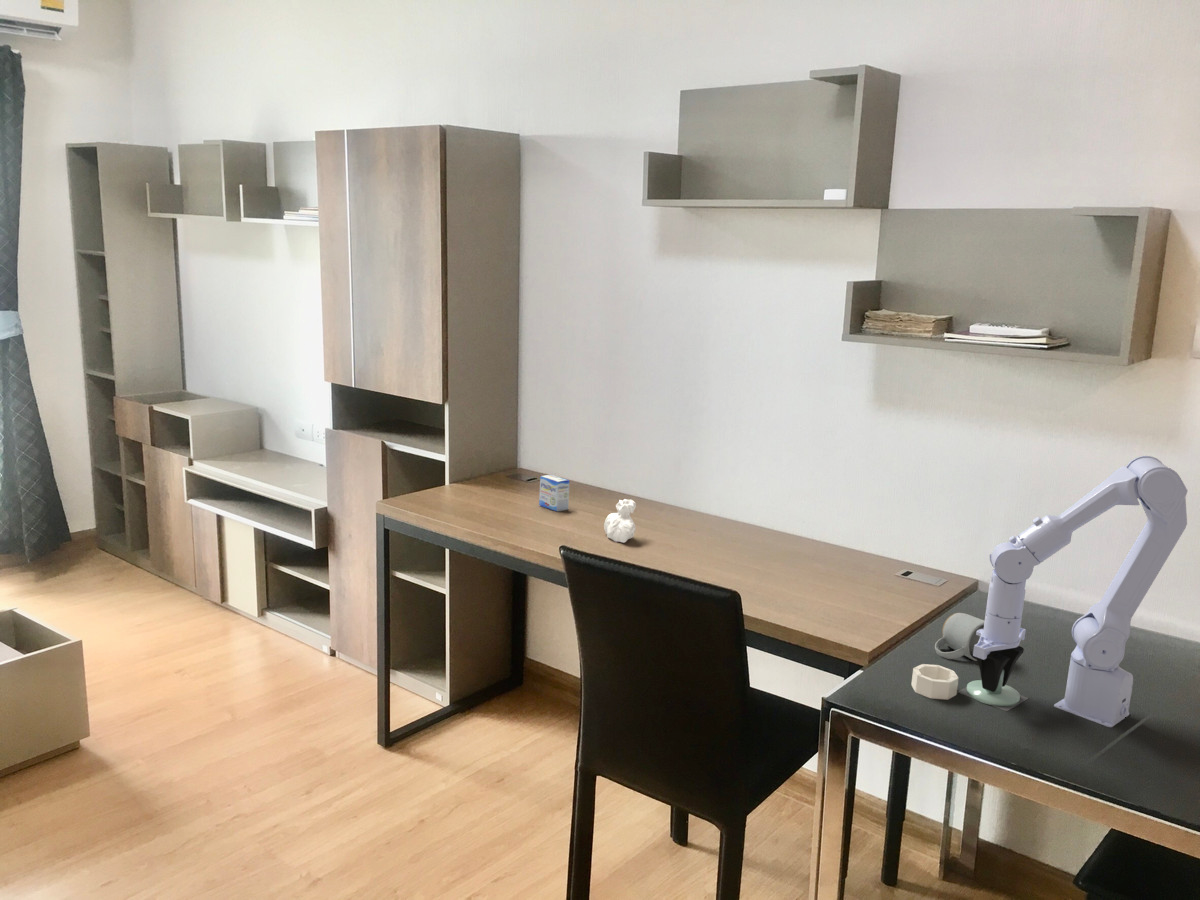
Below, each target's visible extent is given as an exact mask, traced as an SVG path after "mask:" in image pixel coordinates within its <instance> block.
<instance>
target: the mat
mask: <svg viewBox="0 0 1200 900" xmlns="http://www.w3.org/2000/svg"><path fill="white" fill-rule="evenodd" d="M966 690H967V686H965V687H963V688H961V689H959V690H957V694H960V695H962V696H963V695H964V696H965V697H968V698H971V699H973V698H972V697H971V696H969V695H968V693H967V691H966ZM1027 700H1029V697H1026V696H1024V695H1021V694H1020V700H1019V703H1018V704H1016V705H1013V706H1006V707H1003V706H994V705H989V704H987V705H988V706H991V707H994V708H996V709H998V710H1001V711H1004V712H1008V711H1011V709H1014V708H1016V707H1017V706H1018V705H1020V704H1022V703H1024V702H1025V701H1027Z"/></svg>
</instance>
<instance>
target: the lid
mask: <svg viewBox="0 0 1200 900" xmlns="http://www.w3.org/2000/svg"><path fill="white" fill-rule="evenodd" d="M1003 677H1004V669H1003V670H1002V673H1001V676H1000V680H999V684H998V687H997V689H996V691H995V692H991V691H989V690H986V689H984V688H983V687H982V680H981V679H979V680H978V679H977V680H972V681H970V682H968V683H967V684H966V687H967V690H966V691H967V693H968V695H969V696H971V697H972V698H971V699H972V700H975V701H977V702H980V703H982V704H986V705H988V704H989V705H988V706H991V705H994V706H1003V707H1006V706H1013V705H1016V704H1018V703H1019V700H1020V695H1021V694H1020V693H1019V692H1018V690H1016V689H1015V688H1013V686H1010V685H1007V684H1006V685H1005V686H1004V687H1002V684H1003Z"/></svg>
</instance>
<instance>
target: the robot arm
mask: <svg viewBox="0 0 1200 900" xmlns="http://www.w3.org/2000/svg"><path fill="white" fill-rule="evenodd" d="M1187 494H1188V489H1187V487H1186V484H1184V481H1183V480H1182V478H1181V475H1179V473H1178V472H1176V471H1175V470H1174V469H1172V468H1170V467H1168V466H1166V465H1165V464H1164V463H1163V462H1162V461H1161V460H1160V459H1158V458H1156V457H1154V456H1151V455H1141V456H1140V455H1139V456H1138V457H1135V458H1133V459H1131V460H1130V461H1129V462H1128V463H1127V465H1122V466H1121V467H1119V468H1116V469H1115V470H1114V471H1113V472H1112V473H1111V474H1110V475H1109V476H1108V477H1107V478H1105V479H1104V480H1102V482H1101V483H1099V484H1098V485H1096V486H1095V487H1094V488H1093V489H1091V490H1090V491H1089V492H1088V493H1087V494H1085V495H1084V496H1082V497H1081V498H1080V499H1079V500H1077V501H1076V502H1075V503H1073V504H1072V505H1071V506H1070V507H1068V508H1067V509H1066V510H1065V511H1063V512H1061V513H1060V514H1059V515H1058V514H1057V515H1051V514H1045V516H1042V518H1041V517H1040V516H1037V517H1035V518H1034V519H1032V523H1033V524H1032V525H1030V526H1028V527H1027V528H1026V529H1024V530H1023V531H1022V532H1020V533H1018V535H1016V536H1015V535H1011V536H1010V537H1009V538H1008V540H1009V541H1007V542H1006V541H1003V542H1001V543H999V544H997V545H996V546H995V547H994V548H993V550H992V552H991V553H990V554H989V561H990V563H991V566H992V567H993V569H992V571H991V575H990V582H989V586H988V593H987V594H988V595H987V598H986V599H987V600H986V601H987V602H986V609H985V617H984V621H985V622H984V629H980V630H977V633H976V634H977V635H978V636H980V639H979V641H978V643H977V644H976V645H974V651H973V654H972V657H974V658H975V659H977V664H978V668H979V672H980V678H981V679H980V680H982V687H983V688H984V689H986V690H989V691H991V692H995V691H996V689H997V687H998V684H999V680H1000V676H1001V673H1002V670H1003V669H1004V677H1003V684H1002V687H1004V686H1005V685H1007V682H1008V680H1009V678H1010V675H1011V673H1012V670H1013V669H1014V666H1015V665H1016V664H1017V662H1018V660H1019V658H1020V657H1021V655H1022V654H1023V653H1024V650H1025V649H1024V647H1022V646H1020V643H1021V642H1022V641H1025V637H1026V636H1025V635H1026V632H1027V631H1026V628H1022V626H1021V625H1022V617H1023V611H1024V610H1023V609H1024V603H1025V597H1026V583H1027V580H1029V578H1031V576H1032V574H1033V572H1034V568H1035V566H1039V565H1040V564H1041V563H1043V562H1044V561H1047V559H1049V558H1050V557H1052V556H1054V555H1055V554H1057V552H1059V551H1061V550H1062V549H1063V548H1065V547H1066V546H1068V545H1069V544H1070V543H1071V541H1072V536H1073V532H1075V531H1076V530H1077V529H1080V528H1081V527H1082V526H1084V525H1086V524H1088V523H1090V522H1091V521H1092V520H1094V519H1096V518H1098V517H1099V516H1100V515H1102V514H1104V513H1105V512H1107V511H1108V510H1111V509H1112V508H1113V507H1116V506H1140V505H1141V506H1142V509H1143V511H1144V514H1145V516H1146V518H1147V521H1146V523H1145V524H1144V526H1143V528H1142V529H1141V531H1140V533H1139V534H1138V536H1137V538H1136V540H1135V541H1134V543H1133V544H1132V546H1131V548H1130V550H1129V551H1128V553H1127V555H1126V557H1125V558H1124V560H1123V562H1122V563H1121V565H1120V567H1119V568H1118V569H1117V572H1116V573H1115V575H1114V577H1113V578H1112V581H1111V582H1110V584H1109V585H1108V587H1107V589H1106V590H1105V593H1104V594H1103V596H1101V597H1102V598H1101V599H1100V600H1099V601H1098V602H1096V603H1094V604H1092V605H1090V607H1089V609H1088V611H1087V612H1086V613H1085V614H1084V615H1082V616H1081V617H1078V619H1077V620H1075V622H1074V623H1073V625H1072V627H1071V636H1072V639H1073V641H1074V642H1075V644H1076V645H1075V648H1074V649H1073V650H1072V652H1071V654H1070V659H1069V660H1070V661H1069V667H1068V674H1067V681H1066V686H1065V693H1064V698H1062V699H1061V700H1059V701H1058V702H1056V703H1054V705H1053V707H1054V708H1057V709H1059V710H1061V711H1064V712H1067V713H1070V714H1072V715H1075V716H1078V717H1081V718H1082V719H1083V718H1084V719H1085V720H1088V721H1091V722H1094V723H1097V724H1100V725H1103V726H1104V727H1107V728H1113V727H1114V726H1115V725H1118V723H1121V721H1122V720H1124V719H1126V718H1127V717H1128V716H1129V715H1130V712H1129V710H1130V703H1131V697H1132V692H1133V686H1134V676H1133V673H1131V672H1129V671H1127V670H1125V669H1123V668H1122V667H1120V663H1121V662H1122V661H1123V659H1124V657H1125V652H1126V643H1127V641H1128V639H1129V638H1130V634H1131V621H1132V618H1133V616H1134V614H1135V613H1136V611H1137V610H1138V608H1139V606H1140V604H1141V603H1142V601H1143V599H1145V597H1146V595H1147V593H1148V591H1149V590H1150V588H1151V587H1152V585H1153V582H1155V579H1156V578H1157V576H1158V575H1159V573H1160V571H1161V570H1162V568H1163V567H1164V565H1165V563H1166V562H1167V560H1168V558H1169V556H1170V555H1171V553H1172V551H1173V550H1174V548H1175V546H1176V544H1177V543H1178V542H1179V540H1180V538H1181V536H1182V535H1183V533H1184V531H1185V529H1186V527H1187V525H1188V515H1187V502H1186V501H1187V500H1186V499H1187V498H1186V497H1187ZM1138 499H1139V500H1138ZM1125 717H1126V718H1125Z"/></svg>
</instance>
